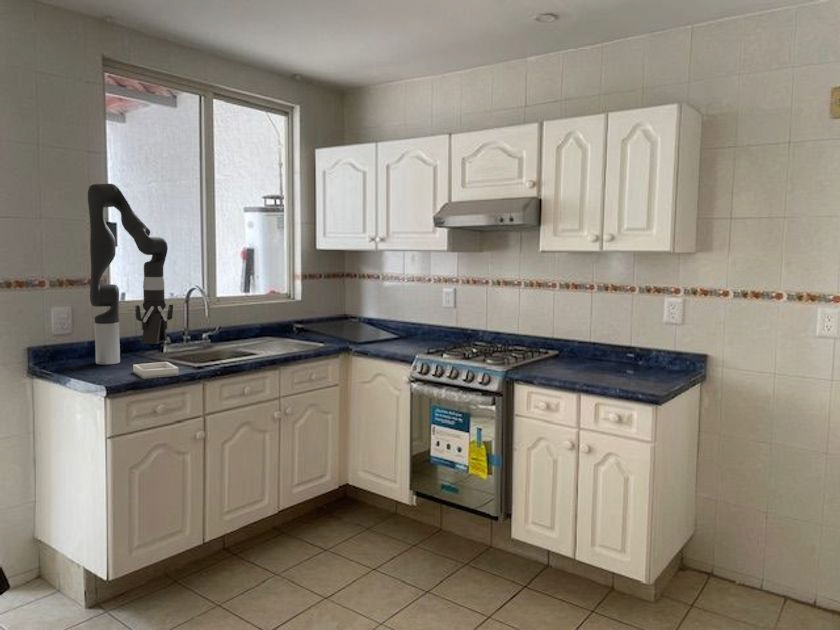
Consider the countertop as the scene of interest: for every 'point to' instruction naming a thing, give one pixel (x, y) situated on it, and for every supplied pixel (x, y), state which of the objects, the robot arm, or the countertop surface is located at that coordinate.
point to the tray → (155, 370)
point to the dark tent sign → (154, 329)
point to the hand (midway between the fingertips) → (154, 331)
